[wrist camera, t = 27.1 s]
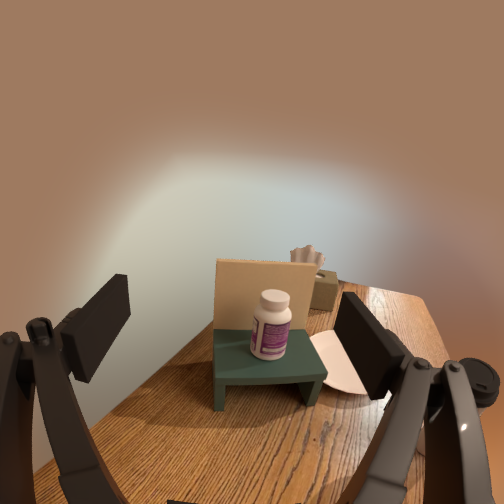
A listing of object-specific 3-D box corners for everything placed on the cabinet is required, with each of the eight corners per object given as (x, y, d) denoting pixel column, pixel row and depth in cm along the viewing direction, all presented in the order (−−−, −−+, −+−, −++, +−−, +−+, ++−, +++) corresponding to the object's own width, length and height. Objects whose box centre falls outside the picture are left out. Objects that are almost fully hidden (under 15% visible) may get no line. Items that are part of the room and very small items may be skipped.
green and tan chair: (214, 413, 35) (218, 297, 30) (212, 360, 48) (216, 258, 42) (315, 407, 38) (350, 299, 32) (295, 359, 50) (315, 263, 44)
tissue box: (331, 297, 80) (342, 246, 75) (333, 312, 70) (346, 256, 66) (270, 287, 83) (276, 236, 78) (265, 301, 74) (272, 244, 69)
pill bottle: (290, 349, 41) (301, 294, 38) (274, 366, 36) (285, 308, 34) (260, 337, 43) (268, 283, 41) (242, 352, 39) (248, 295, 36)
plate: (331, 327, 63) (333, 319, 62) (408, 361, 49) (412, 353, 48) (277, 366, 48) (279, 357, 47) (375, 419, 34) (380, 411, 34)
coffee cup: (413, 470, 23) (471, 401, 19) (400, 426, 32) (442, 355, 28) (458, 458, 22) (513, 390, 18) (442, 420, 31) (484, 352, 27)
